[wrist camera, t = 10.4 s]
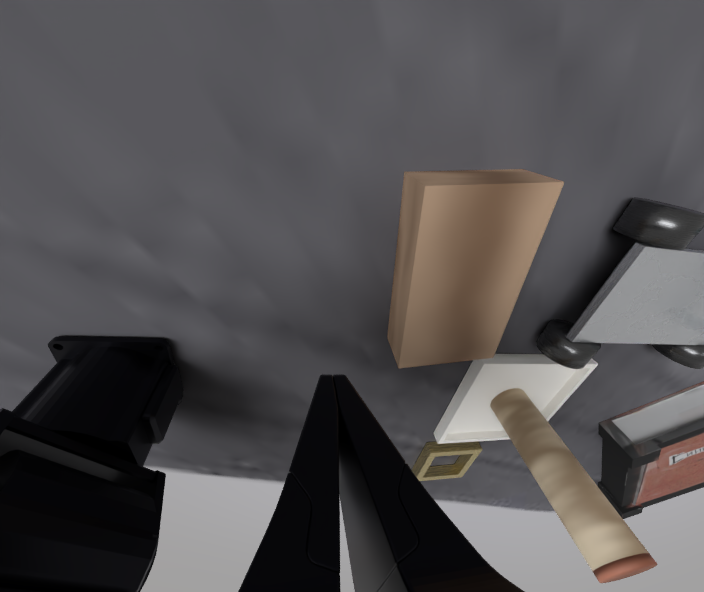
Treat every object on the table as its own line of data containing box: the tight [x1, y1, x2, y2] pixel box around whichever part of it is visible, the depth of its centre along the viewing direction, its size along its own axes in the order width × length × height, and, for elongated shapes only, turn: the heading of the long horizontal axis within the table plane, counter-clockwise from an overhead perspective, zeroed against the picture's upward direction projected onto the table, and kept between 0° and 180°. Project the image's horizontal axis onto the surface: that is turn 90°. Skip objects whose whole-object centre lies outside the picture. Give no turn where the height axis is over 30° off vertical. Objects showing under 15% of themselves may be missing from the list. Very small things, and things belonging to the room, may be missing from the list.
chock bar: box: [387, 169, 564, 368], centre depth 18 cm, size 7×12×4 cm, turn 179°
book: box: [598, 382, 704, 519], centre depth 40 cm, size 26×18×5 cm
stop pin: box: [490, 388, 657, 583], centre depth 24 cm, size 4×4×13 cm
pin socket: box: [412, 441, 482, 481], centre depth 34 cm, size 6×6×1 cm
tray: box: [434, 354, 598, 444], centre depth 29 cm, size 12×12×1 cm
